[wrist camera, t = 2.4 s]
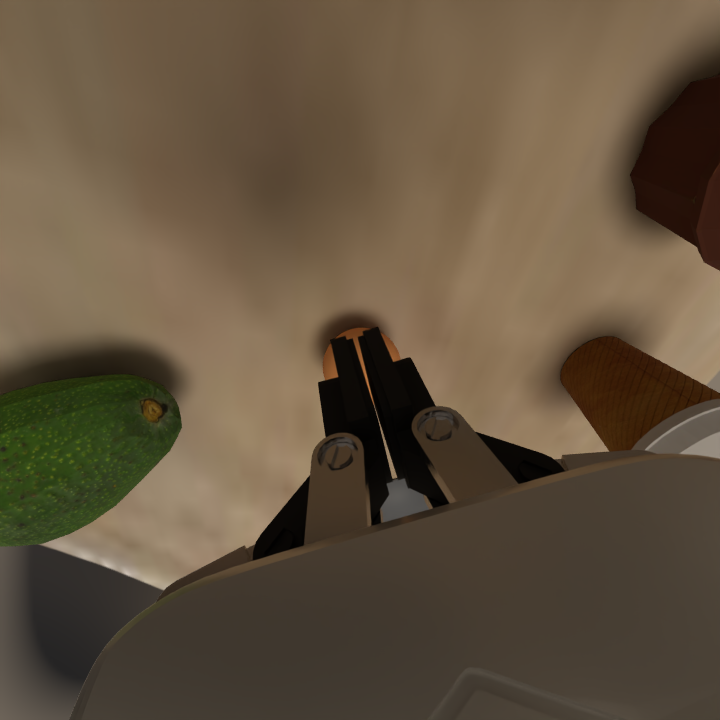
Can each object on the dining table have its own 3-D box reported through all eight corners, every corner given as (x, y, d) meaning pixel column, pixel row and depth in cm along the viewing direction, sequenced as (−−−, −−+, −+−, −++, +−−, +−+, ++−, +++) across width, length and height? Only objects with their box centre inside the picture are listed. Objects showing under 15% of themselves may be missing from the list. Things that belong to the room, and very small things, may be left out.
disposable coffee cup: (607, 402, 39) (714, 506, 29) (527, 402, 37) (614, 513, 27) (663, 322, 34) (816, 416, 24) (573, 316, 31) (702, 417, 22)
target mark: (335, 494, 40) (335, 496, 40) (443, 465, 40) (444, 466, 40) (357, 548, 47) (357, 549, 47) (449, 522, 47) (449, 524, 47)
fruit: (145, 313, 25) (82, 420, 17) (222, 412, 31) (202, 525, 23) (-57, 390, 26) (-209, 526, 18) (56, 472, 32) (-19, 601, 24)
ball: (311, 324, 28) (317, 370, 23) (384, 305, 28) (405, 347, 23) (329, 381, 31) (338, 430, 26) (395, 363, 31) (414, 410, 27)
